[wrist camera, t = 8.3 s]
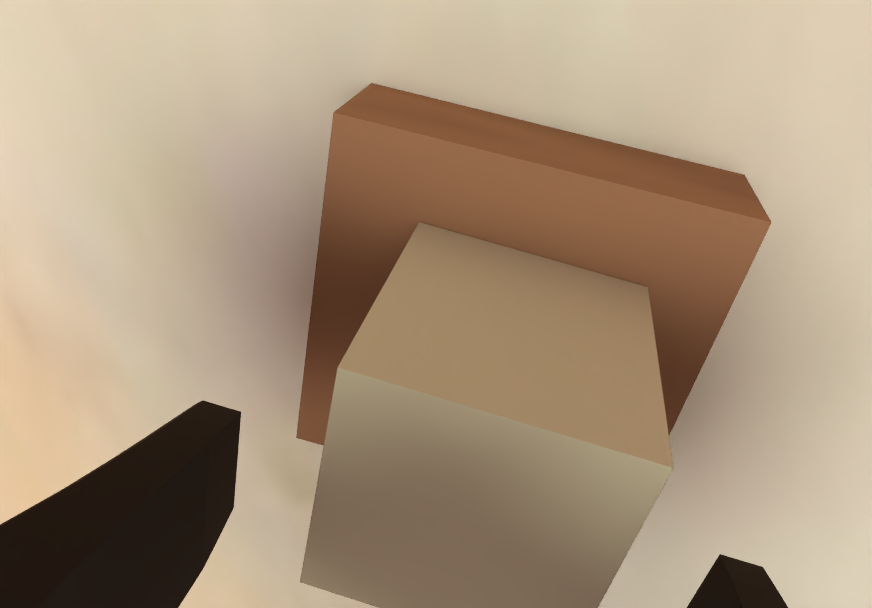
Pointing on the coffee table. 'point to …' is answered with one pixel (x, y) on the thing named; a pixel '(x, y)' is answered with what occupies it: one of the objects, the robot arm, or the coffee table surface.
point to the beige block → (489, 434)
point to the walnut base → (522, 223)
